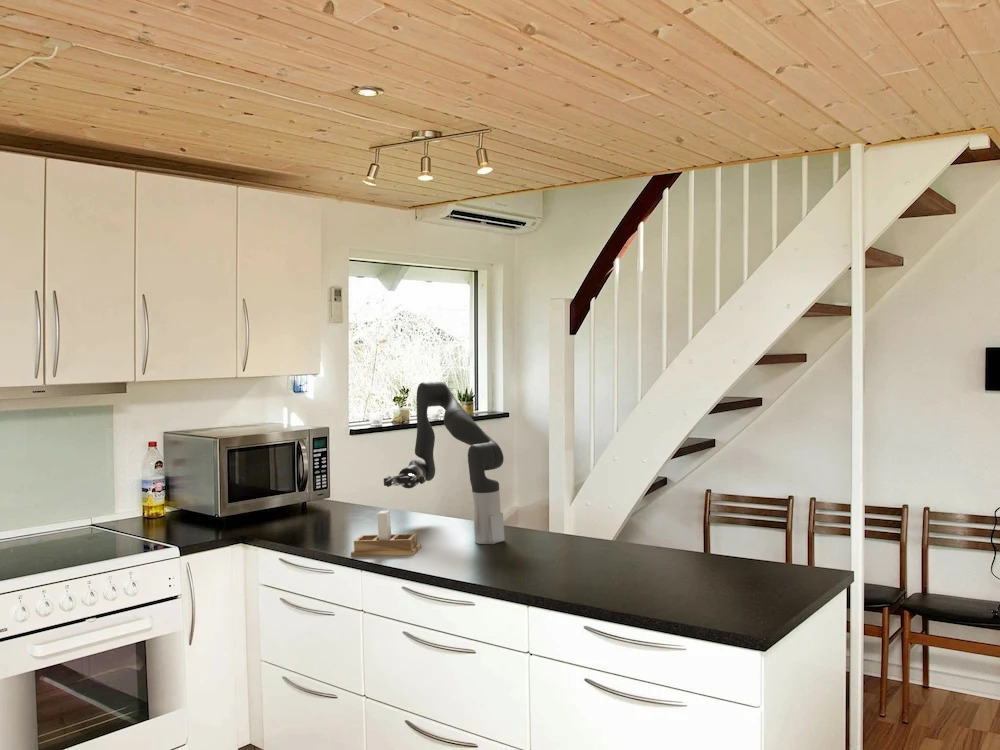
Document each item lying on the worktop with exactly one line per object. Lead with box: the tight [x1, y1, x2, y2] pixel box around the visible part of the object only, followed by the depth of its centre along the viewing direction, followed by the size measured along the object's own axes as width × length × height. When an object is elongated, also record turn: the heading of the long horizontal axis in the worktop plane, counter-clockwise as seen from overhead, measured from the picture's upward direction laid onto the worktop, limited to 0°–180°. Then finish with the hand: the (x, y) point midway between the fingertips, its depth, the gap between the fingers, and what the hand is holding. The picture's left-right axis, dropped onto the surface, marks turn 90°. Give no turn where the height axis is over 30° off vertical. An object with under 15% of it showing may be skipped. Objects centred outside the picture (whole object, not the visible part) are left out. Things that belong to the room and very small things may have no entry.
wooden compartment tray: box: [350, 533, 422, 557], centre depth 283 cm, size 10×21×5 cm, turn 81°
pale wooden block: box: [376, 509, 392, 540], centre depth 283 cm, size 4×3×12 cm, turn 173°
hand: (399, 483), depth 298 cm, fingers open, 8 cm apart
